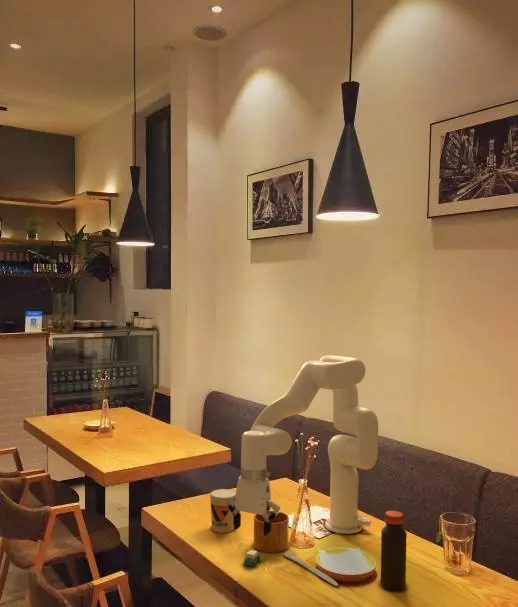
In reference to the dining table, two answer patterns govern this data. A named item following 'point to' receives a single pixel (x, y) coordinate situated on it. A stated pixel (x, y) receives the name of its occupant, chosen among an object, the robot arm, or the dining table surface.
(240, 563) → the dining table surface
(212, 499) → the coffee cup
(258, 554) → the toy car
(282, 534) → the tumbler
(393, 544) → the bottle
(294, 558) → the butter knife
